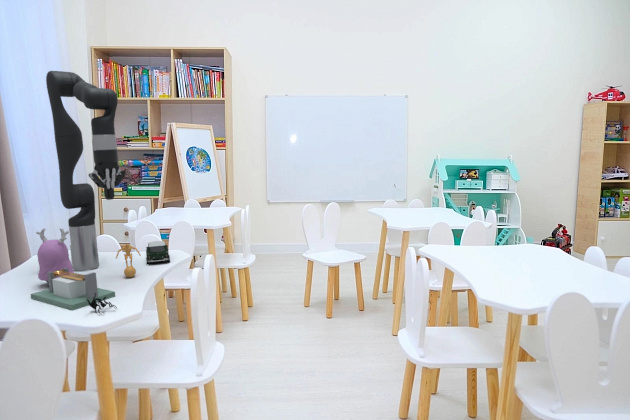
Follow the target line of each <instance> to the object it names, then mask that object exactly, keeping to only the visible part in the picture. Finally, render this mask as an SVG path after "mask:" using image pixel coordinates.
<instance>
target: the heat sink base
mask: <svg viewBox="0 0 630 420" xmlns="http://www.w3.org/2000/svg"><path fill="white" fill-rule="evenodd" d="M63 270H64V271H65V272H69V268H63ZM76 273H77V274H80V272H76ZM47 274H48V283H49V284H48V283H47V284H48V288H46V289H44V290H39V291H36V292H32V293H30V300H31V299H32V300H36V301H40V302H42V303H46V304H50V305H53V306H57V307H60V308H62V309H67V310H71V311H74V310H77V309H81V308H84V307H86V306H87V307H88V306H90V305H89V303H88V301H87V300H89V301H90V303H91V302H92V300H93V298H94V296H95V293H96V297H95V299H96V298H99V299H103V298H104V297H105V296H106V298H105V300H108V299H111V298H114V297H116V291H114V290H109V289H106V288H100V287H98V283H97V281H98V280H97V273H96V272H94V271H92V272H89V273H86V274H85V273H84V274H83V273H81V274H82V275H84V278H85V280H84V281H80V280H75V279H70V278H65V277H59V278H55V279H54V274H53V272H51V271H50V272H47ZM86 299H87V300H86ZM101 301H102V302H103V300H101ZM98 302H99V301H98V300H96V303H98Z"/></svg>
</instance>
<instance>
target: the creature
mask: <svg viewBox="0 0 630 420" xmlns="http://www.w3.org/2000/svg"><path fill="white" fill-rule="evenodd" d="M95 297H96V293H95V296H94V298H93V300H92V302H91V303H90V301H89V300H87V299H86V300H87V301H88V303H89V305H88V306H89V307H91V309H93V310H94V312H95V314H99V315H102V316H103V314H105V312H100V310H102V309H105V307H107V305H108V307H109V308H113V309H115V310H117V309H118V308H117V306H116V305H114V304H112V302H110V301H106V299H105V298H106V296H105V297H104V298H103V299H99V298H96V299H95ZM96 300H98V301H99V302H96ZM101 300H102V301H101ZM97 307H98V309H97Z"/></svg>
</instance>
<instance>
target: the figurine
mask: <svg viewBox="0 0 630 420" xmlns="http://www.w3.org/2000/svg"><path fill="white" fill-rule="evenodd" d="M131 249H133V250H135V251H136V252H137V254H138V255H139V256H141V253H140V251H139V249H138V248H137V247H134V246H132V245H129V244H128V243H126V244H125V245H124V246H122V248H120V249H118V250H117V253H116V256H115V259H116V260H117V259H118V256H119V254H120V252H121V251H123V250H124V252H125V253H124V255H123V256H124V260H125V264H126V267H125V269H124V271H123V273H124V276H125V277H127V278H133V277H134V276H135V275H136V273H137V270H136V268H135V267H134V266H133V264H132V263H133V253H132V252H131ZM128 258H129V259H130V262H129V261H128ZM128 262H129V263H130V266H129V264H128Z"/></svg>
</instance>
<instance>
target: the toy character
mask: <svg viewBox="0 0 630 420" xmlns="http://www.w3.org/2000/svg"><path fill="white" fill-rule="evenodd" d="M46 230H47V229H46V228H44V227H43V228H42V229H41V231H36V232H35V234H36V235H39V238H40V240H41V241H42V243H40V245H39V248H38V251H37V262H38V266H39V267H38V268H39V270H38V273H37V276H38V277H37V278H38V279H39V281H44V282H46V283H47V284H48V285H49V283H48V274H47V272H50V271H51V272H54V271H58V270H62V269H63V268H69V272H71V273H75V270H73V268H72V260H70V257H69V256H70V254H69V249H68V247H67V245H66V244H65V241H66V240H68V238H67V235H68V234H70V232H69V230H66V231H65V230H64V228H61V227H59V231H60V233H61V234H60V236H61V237H60V238H59V239H48V238H47V237H46V236H45V231H46ZM55 278H59V276H57V277H54V279H55Z"/></svg>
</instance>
